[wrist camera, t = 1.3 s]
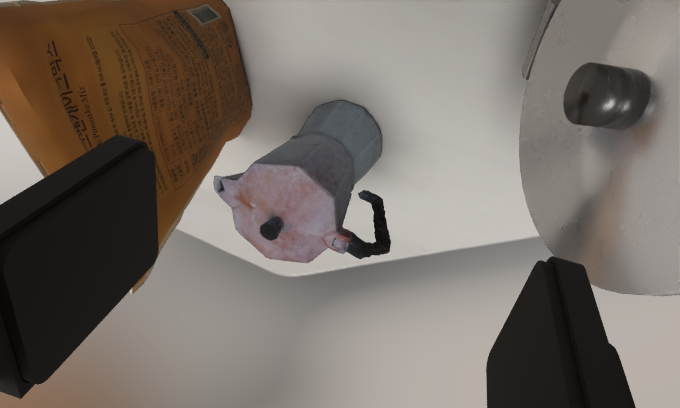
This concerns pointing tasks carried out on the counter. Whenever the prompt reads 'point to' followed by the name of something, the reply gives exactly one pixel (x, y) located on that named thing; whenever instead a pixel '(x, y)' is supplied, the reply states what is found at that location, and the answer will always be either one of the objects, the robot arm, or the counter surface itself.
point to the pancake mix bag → (125, 86)
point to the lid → (607, 142)
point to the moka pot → (310, 188)
